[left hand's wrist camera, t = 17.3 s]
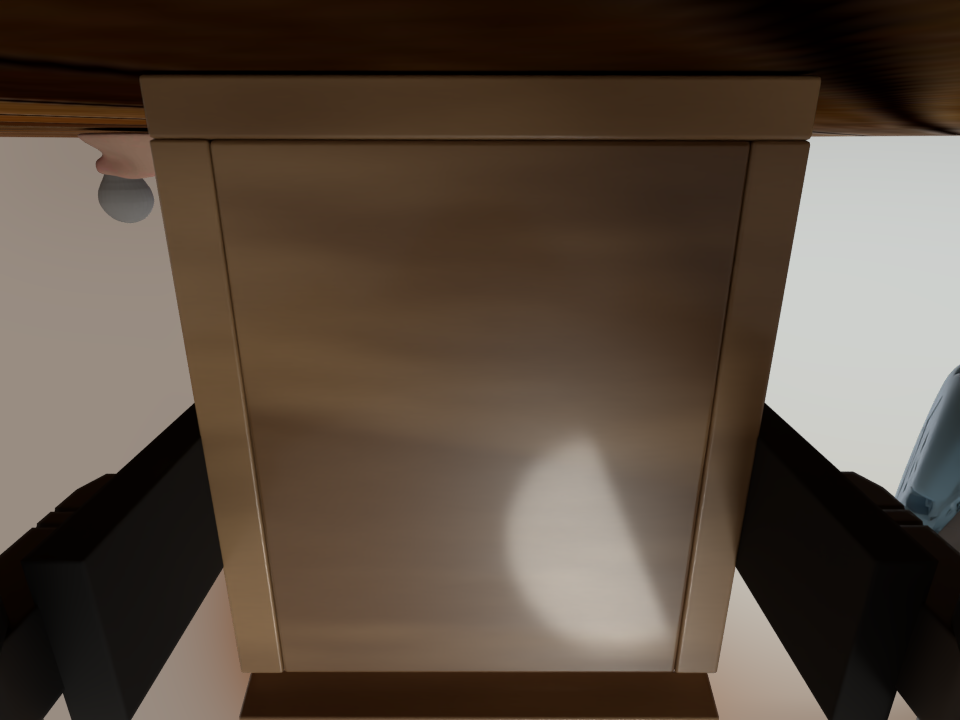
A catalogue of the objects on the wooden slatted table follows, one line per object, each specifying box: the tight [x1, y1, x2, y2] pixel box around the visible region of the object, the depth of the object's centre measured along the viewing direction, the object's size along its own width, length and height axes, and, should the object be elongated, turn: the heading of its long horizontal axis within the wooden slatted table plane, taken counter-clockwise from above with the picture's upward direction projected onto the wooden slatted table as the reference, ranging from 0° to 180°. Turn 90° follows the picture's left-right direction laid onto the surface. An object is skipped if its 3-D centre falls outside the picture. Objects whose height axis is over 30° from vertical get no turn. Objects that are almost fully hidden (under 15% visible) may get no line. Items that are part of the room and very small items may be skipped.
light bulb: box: [98, 174, 154, 223], centre depth 73 cm, size 6×6×10 cm
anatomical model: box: [78, 132, 155, 179], centre depth 43 cm, size 13×4×12 cm
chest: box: [139, 74, 821, 673], centre depth 18 cm, size 16×10×11 cm, turn 0°
